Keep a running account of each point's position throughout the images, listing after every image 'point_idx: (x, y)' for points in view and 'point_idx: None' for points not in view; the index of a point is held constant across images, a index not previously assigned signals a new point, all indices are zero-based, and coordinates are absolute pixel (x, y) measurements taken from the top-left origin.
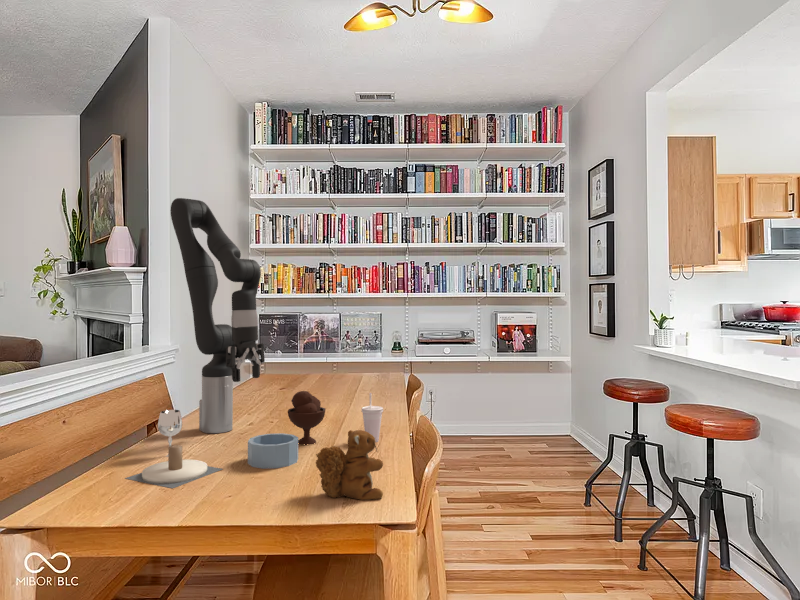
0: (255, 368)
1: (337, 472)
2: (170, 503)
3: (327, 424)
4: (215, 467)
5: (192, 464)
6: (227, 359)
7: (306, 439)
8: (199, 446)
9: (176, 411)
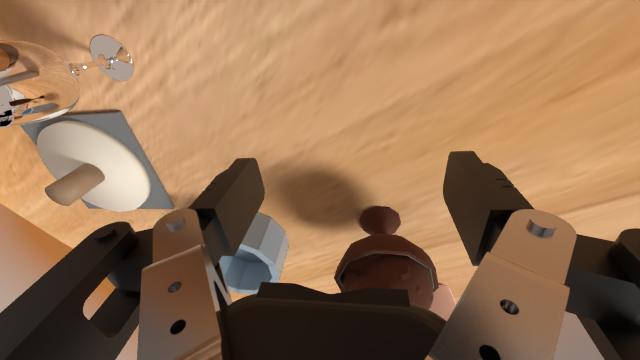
0: (471, 224)
1: None
2: (85, 227)
3: (594, 173)
4: (165, 196)
5: (123, 180)
6: (47, 299)
7: (371, 231)
8: (208, 29)
9: (6, 86)
